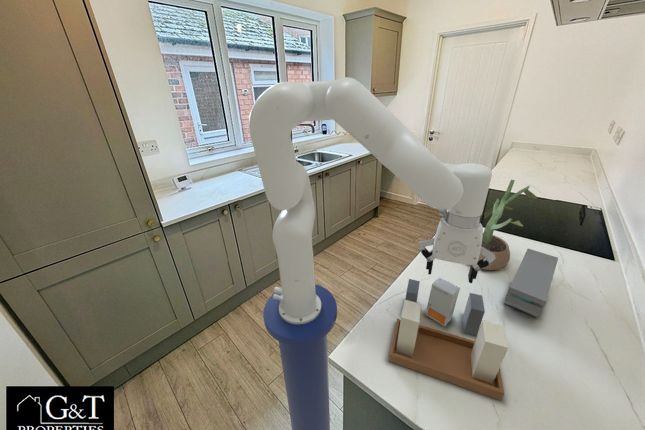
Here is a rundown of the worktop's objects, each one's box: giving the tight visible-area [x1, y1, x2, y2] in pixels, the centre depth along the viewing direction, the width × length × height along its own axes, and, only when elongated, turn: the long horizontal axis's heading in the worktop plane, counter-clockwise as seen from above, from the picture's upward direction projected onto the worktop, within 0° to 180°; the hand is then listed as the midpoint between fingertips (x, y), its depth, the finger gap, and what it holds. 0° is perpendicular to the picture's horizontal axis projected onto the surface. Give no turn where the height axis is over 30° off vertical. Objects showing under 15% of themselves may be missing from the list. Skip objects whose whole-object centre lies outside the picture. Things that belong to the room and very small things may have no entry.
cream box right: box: [471, 319, 509, 384], centre depth 58 cm, size 4×6×12 cm, turn 157°
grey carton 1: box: [404, 278, 421, 303], centre depth 76 cm, size 3×6×9 cm, turn 157°
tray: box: [388, 318, 505, 401], centre depth 64 cm, size 24×12×3 cm, turn 67°
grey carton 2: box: [462, 292, 486, 337], centre depth 70 cm, size 3×6×9 cm, turn 157°
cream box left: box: [396, 299, 422, 357], centre depth 64 cm, size 4×6×12 cm, turn 157°
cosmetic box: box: [425, 277, 461, 327], centre depth 73 cm, size 6×4×12 cm
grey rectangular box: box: [504, 248, 559, 318], centre depth 78 cm, size 25×8×11 cm, turn 136°
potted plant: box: [478, 179, 538, 271], centre depth 94 cm, size 22×18×30 cm
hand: (449, 275), depth 68 cm, fingers open, 9 cm apart
